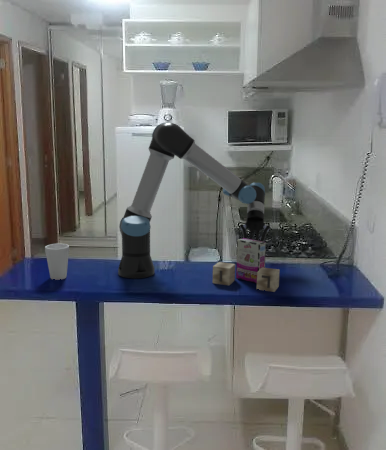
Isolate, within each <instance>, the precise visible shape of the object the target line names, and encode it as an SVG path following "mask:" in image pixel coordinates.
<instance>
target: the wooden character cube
mask: <svg viewBox="0 0 386 450" xmlns="http://www.w3.org/2000/svg"><path fill="white" fill-rule="evenodd" d="M235 280H236V263H231V262H223V261H218V262H217V263H215V264H214V265H212V284H216V285H223V286H230V285H232V284H233V283H234V282H235Z"/></svg>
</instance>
